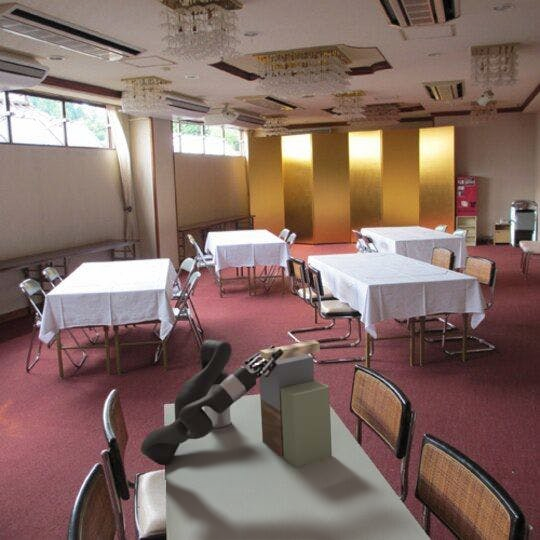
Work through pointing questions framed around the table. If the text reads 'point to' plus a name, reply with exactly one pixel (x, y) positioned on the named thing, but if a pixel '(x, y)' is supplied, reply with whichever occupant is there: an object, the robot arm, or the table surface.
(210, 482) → the table surface
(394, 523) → the table surface
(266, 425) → the walnut crate
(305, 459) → the olive box
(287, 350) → the birch slat
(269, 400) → the block
